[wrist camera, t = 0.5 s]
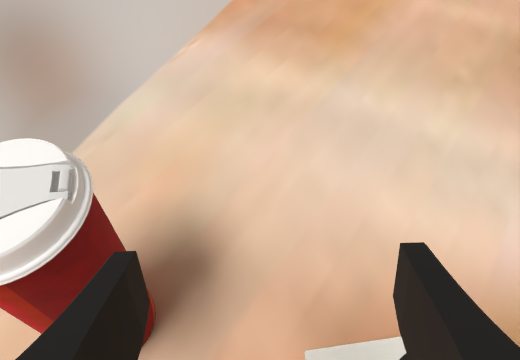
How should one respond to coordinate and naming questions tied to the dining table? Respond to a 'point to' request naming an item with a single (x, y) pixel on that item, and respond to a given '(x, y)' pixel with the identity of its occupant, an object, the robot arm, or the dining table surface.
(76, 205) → the coffee cup
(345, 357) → the block
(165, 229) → the dining table surface
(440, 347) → the robot arm
